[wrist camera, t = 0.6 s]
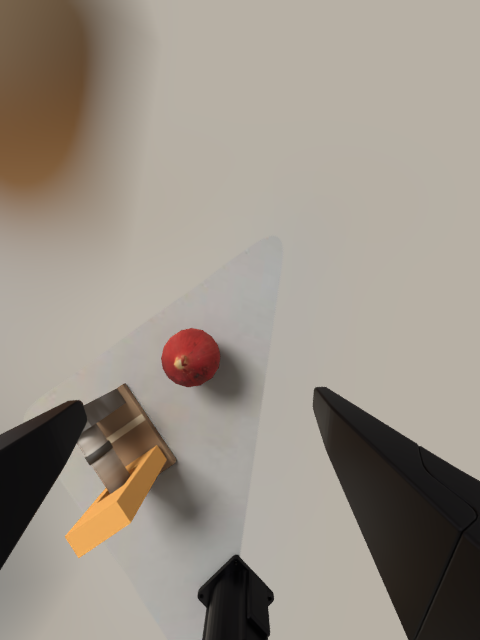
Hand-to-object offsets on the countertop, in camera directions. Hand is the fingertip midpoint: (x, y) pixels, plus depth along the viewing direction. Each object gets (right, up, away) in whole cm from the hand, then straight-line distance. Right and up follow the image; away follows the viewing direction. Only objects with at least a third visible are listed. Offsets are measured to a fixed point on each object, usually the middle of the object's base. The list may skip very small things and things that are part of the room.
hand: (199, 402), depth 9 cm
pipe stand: (-11, -11, +18) cm, 24 cm away
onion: (-3, -1, +18) cm, 18 cm away
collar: (-9, -13, +17) cm, 23 cm away
